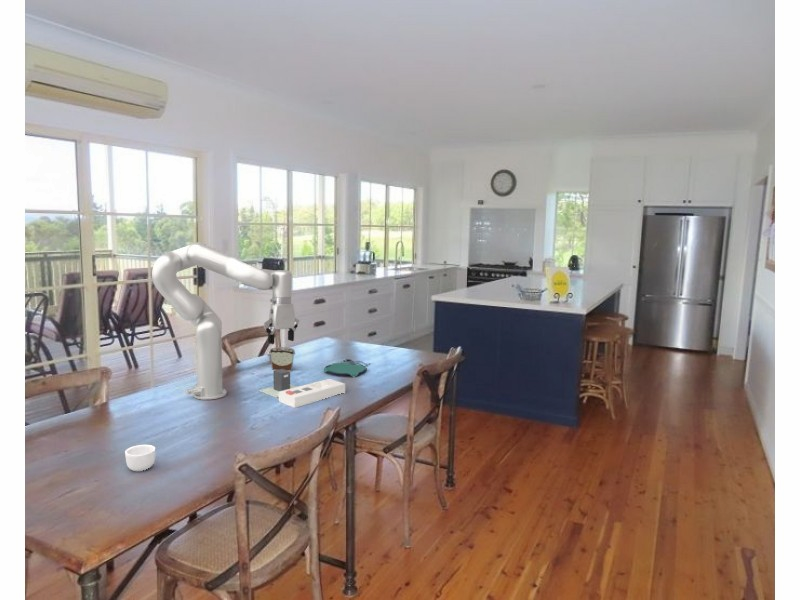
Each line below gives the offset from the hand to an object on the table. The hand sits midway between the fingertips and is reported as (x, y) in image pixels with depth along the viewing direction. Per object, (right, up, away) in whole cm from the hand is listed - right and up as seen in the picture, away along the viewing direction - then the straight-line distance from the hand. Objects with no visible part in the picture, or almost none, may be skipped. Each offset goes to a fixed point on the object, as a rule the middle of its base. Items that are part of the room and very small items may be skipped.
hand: (281, 342), depth 224 cm
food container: (-7, -16, +36) cm, 40 cm away
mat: (0, -21, +3) cm, 21 cm away
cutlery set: (+24, -17, +40) cm, 50 cm away
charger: (0, -20, +3) cm, 20 cm away
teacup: (-26, -31, -69) cm, 79 cm away
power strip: (+14, -22, -4) cm, 26 cm away
